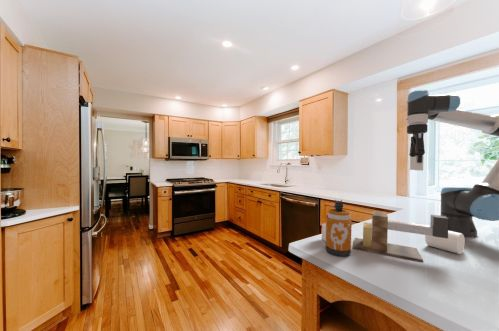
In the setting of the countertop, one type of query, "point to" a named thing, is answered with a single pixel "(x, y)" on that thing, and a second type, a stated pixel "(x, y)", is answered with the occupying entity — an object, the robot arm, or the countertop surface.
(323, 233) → the medicine bottle
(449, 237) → the white rounded block
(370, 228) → the block
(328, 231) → the canister
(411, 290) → the countertop surface
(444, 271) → the countertop surface
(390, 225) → the shaft
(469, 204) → the robot arm
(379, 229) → the bracket
